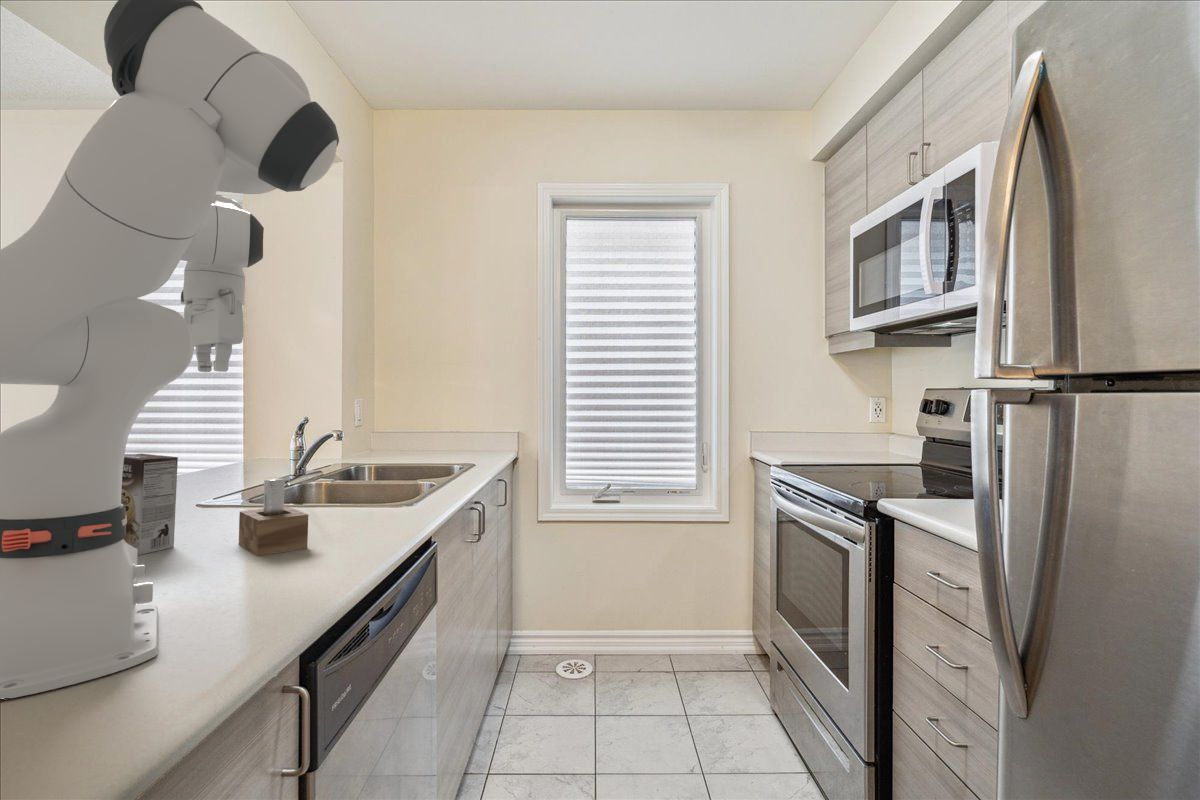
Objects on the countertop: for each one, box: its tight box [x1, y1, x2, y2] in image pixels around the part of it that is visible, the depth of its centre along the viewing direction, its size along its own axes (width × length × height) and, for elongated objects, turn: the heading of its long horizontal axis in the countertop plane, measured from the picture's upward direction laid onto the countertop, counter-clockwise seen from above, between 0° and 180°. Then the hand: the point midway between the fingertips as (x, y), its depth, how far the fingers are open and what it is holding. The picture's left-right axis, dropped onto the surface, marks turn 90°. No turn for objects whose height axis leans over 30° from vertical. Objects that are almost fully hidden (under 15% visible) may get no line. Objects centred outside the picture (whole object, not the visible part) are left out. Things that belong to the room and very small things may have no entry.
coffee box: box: [121, 453, 179, 556], centre depth 100 cm, size 9×6×16 cm
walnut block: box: [238, 505, 309, 557], centre depth 104 cm, size 10×8×6 cm
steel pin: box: [262, 478, 286, 517], centre depth 104 cm, size 3×3×10 cm
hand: (212, 371), depth 100 cm, fingers open, 8 cm apart
